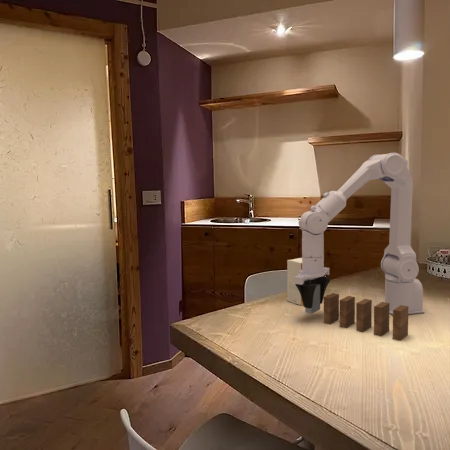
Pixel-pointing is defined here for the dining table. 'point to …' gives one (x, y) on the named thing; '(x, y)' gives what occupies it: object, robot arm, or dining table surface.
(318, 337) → the dining table surface
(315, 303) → the gray rectangular block
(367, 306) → the domino
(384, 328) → the domino
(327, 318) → the domino
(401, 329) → the domino
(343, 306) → the domino
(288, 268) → the small box
